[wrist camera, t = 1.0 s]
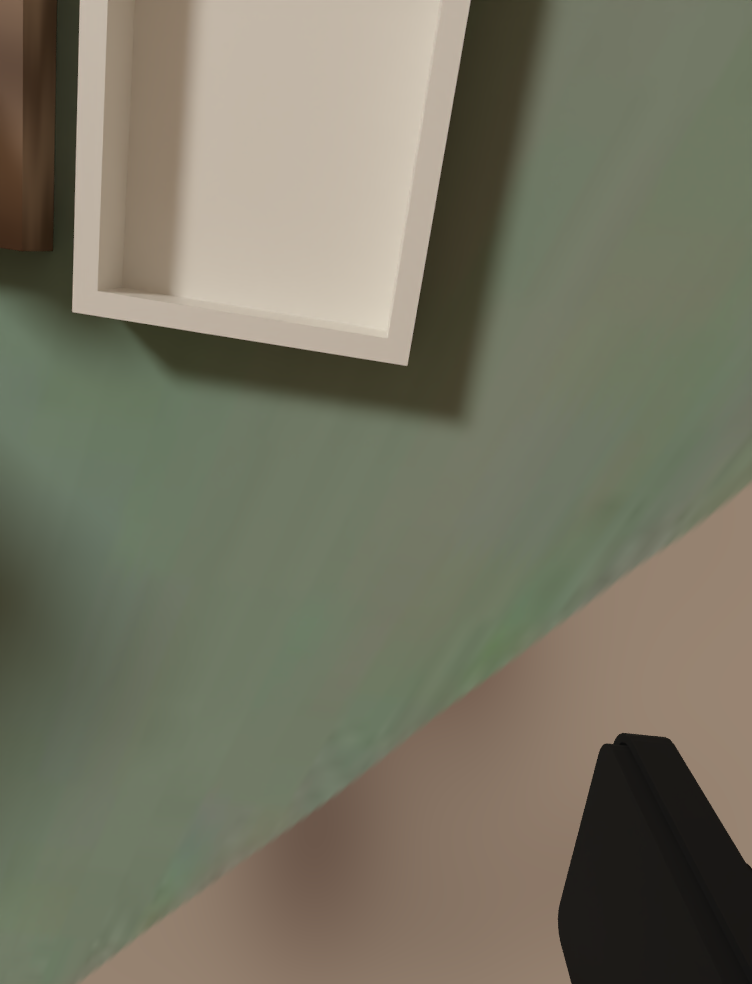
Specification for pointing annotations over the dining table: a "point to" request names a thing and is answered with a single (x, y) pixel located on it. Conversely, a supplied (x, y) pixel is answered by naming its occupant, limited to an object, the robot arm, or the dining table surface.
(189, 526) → the dining table surface
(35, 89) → the brown wooden square frame
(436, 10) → the tray
